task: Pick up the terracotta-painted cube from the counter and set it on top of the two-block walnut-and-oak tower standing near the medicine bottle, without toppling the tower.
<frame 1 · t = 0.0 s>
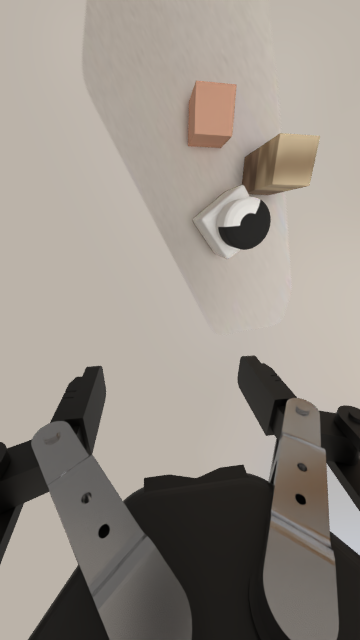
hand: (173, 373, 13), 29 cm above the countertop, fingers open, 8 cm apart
clay block: (205, 125, 32), on the countertop
tower top: (273, 169, 31), point 5 cm above the countertop, touching tower bottom
tower bottom: (257, 176, 35), on the countertop, touching tower top
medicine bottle: (219, 223, 38), on the countertop
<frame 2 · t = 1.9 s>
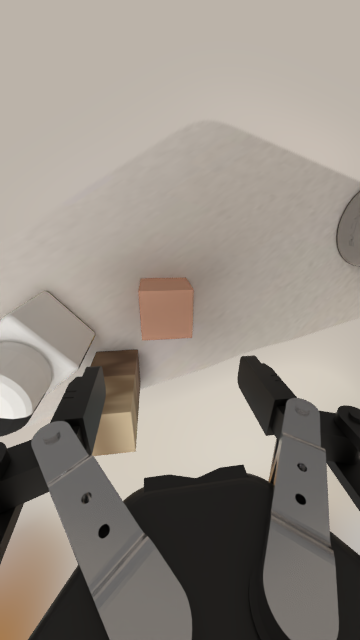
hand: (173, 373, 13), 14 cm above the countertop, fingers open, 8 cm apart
clay block: (164, 299, 25), on the countertop
tower top: (113, 394, 24), point 5 cm above the countertop, touching tower bottom
tower bottom: (119, 367, 28), on the countertop, touching tower top
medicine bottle: (52, 330, 25), on the countertop
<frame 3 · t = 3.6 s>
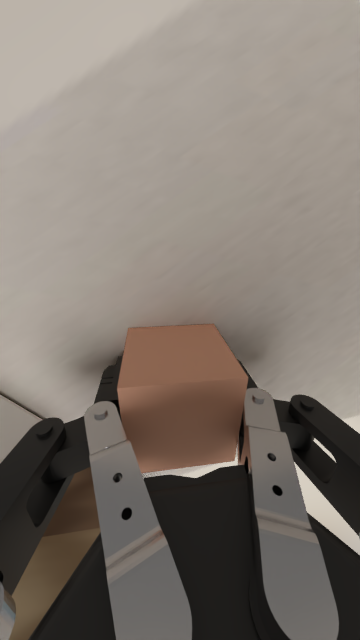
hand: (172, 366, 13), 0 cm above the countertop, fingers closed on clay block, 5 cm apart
clay block: (172, 361, 14), on the countertop, touching gripper
tower top: (74, 556, 12), point 5 cm above the countertop, touching tower bottom
tower bottom: (94, 466, 17), on the countertop, touching tower top
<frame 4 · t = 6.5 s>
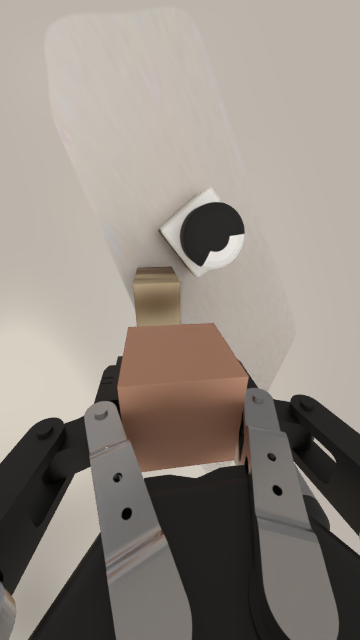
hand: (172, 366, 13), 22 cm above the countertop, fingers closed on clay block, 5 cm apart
clay block: (172, 360, 14), point 21 cm above the countertop, touching gripper
tower top: (156, 292, 29), point 5 cm above the countertop, touching tower bottom
tower bottom: (155, 283, 33), on the countertop, touching tower top
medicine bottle: (192, 233, 31), on the countertop
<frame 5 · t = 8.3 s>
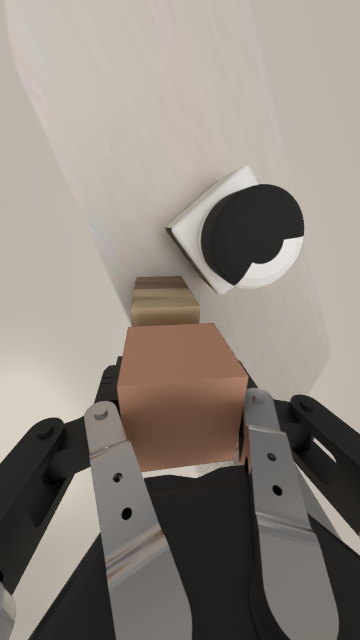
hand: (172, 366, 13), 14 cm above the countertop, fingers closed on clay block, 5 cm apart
clay block: (171, 360, 14), point 13 cm above the countertop, touching gripper
tower top: (162, 313, 21), point 5 cm above the countertop, touching tower bottom
tower bottom: (159, 297, 26), on the countertop, touching tower top
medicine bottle: (209, 233, 24), on the countertop
when the fingers open (11 cm above the countertop, at t = 9.5 s): clay block stays where it is, resting on tower top.
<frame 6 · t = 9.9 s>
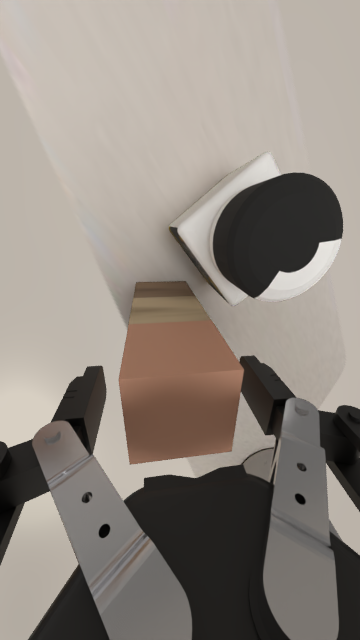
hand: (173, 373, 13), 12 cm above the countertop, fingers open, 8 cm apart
clay block: (171, 357, 14), point 10 cm above the countertop, touching tower top
tower top: (165, 324, 19), point 5 cm above the countertop, touching clay block, tower bottom
tower bottom: (161, 304, 23), on the countertop, touching tower top
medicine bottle: (218, 234, 21), on the countertop
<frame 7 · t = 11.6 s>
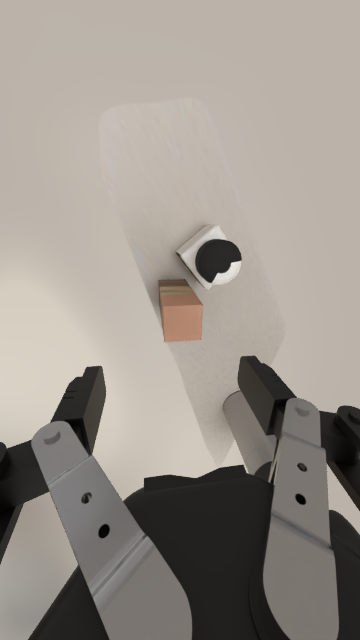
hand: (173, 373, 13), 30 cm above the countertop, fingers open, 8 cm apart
clay block: (178, 310, 33), point 10 cm above the countertop, touching tower top
tower top: (174, 300, 37), point 5 cm above the countertop, touching clay block, tower bottom
tower bottom: (172, 292, 42), on the countertop, touching tower top
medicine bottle: (201, 254, 40), on the countertop
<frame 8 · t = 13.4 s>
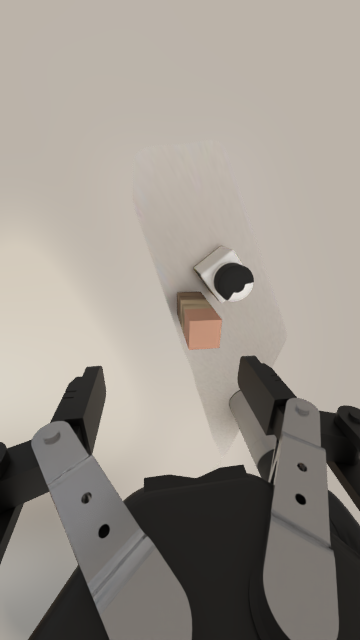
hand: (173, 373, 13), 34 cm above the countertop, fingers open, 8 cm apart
clay block: (198, 321, 39), point 10 cm above the countertop, touching tower top
tower top: (192, 311, 43), point 5 cm above the countertop, touching clay block, tower bottom
tower bottom: (188, 303, 48), on the countertop, touching tower top
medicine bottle: (215, 270, 46), on the countertop
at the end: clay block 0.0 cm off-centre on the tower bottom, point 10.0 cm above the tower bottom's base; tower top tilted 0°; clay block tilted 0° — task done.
